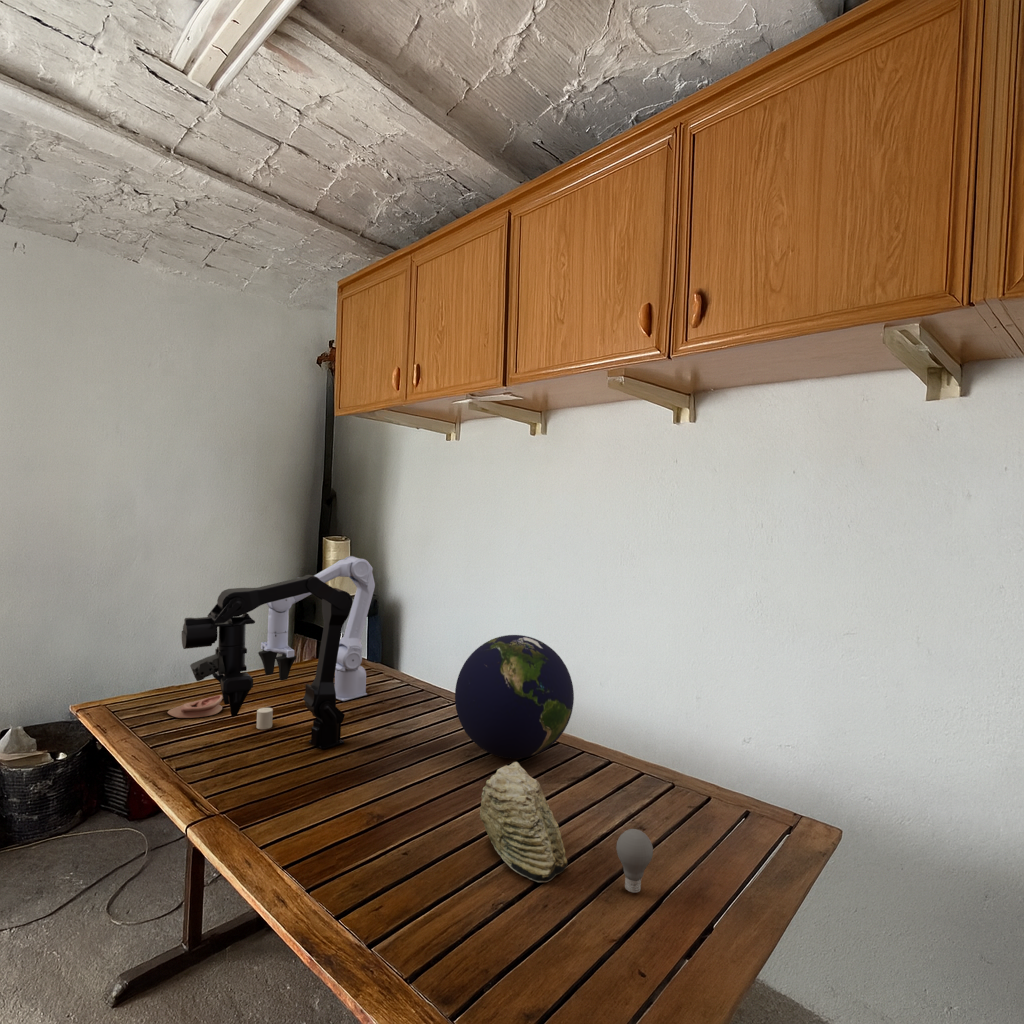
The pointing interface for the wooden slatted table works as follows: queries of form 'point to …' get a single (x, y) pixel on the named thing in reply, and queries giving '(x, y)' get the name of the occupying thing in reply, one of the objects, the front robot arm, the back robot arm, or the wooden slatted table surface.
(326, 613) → the front robot arm
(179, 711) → the anatomical model
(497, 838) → the fossil
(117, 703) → the wooden slatted table surface
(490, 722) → the globe
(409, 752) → the wooden slatted table surface
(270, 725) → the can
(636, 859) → the light bulb
